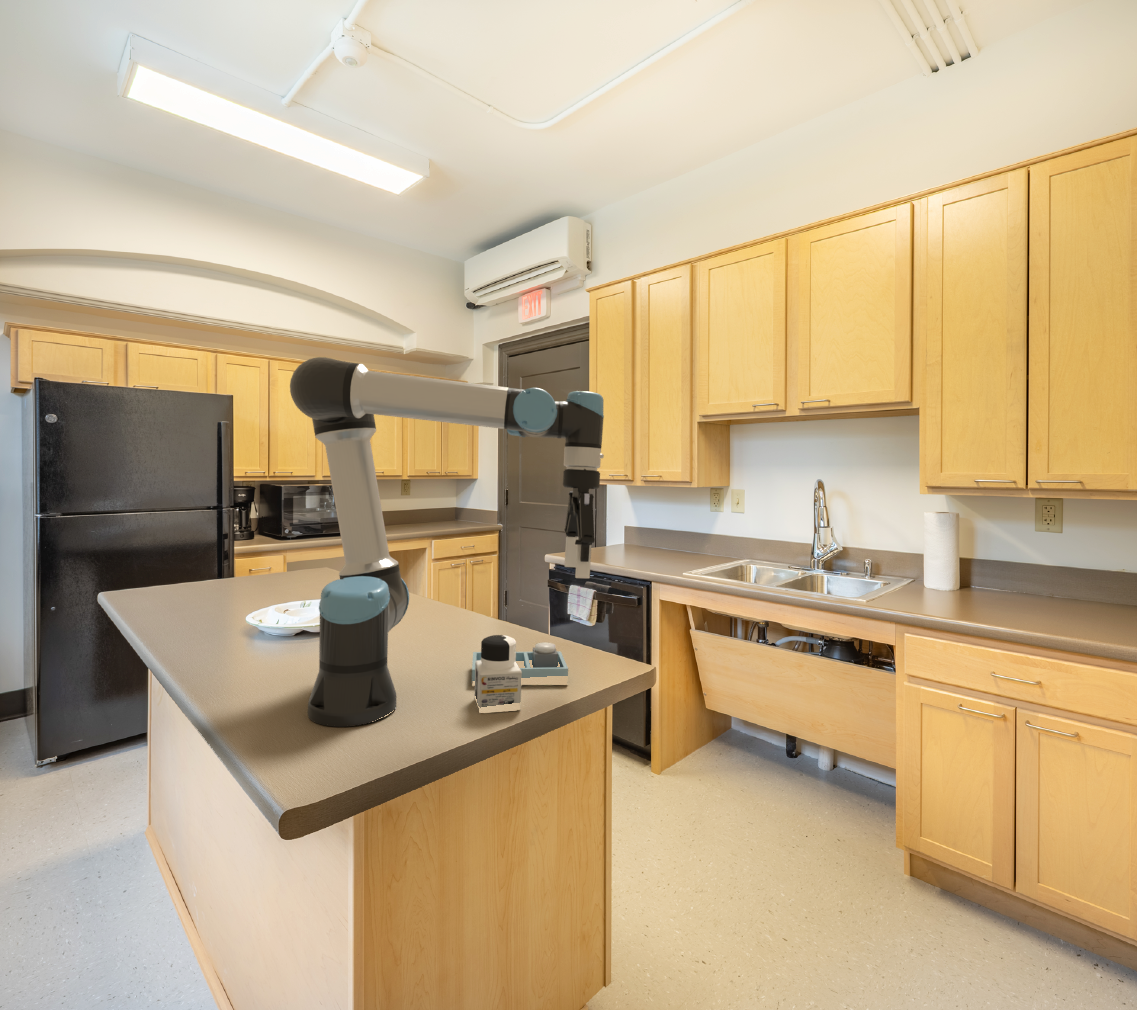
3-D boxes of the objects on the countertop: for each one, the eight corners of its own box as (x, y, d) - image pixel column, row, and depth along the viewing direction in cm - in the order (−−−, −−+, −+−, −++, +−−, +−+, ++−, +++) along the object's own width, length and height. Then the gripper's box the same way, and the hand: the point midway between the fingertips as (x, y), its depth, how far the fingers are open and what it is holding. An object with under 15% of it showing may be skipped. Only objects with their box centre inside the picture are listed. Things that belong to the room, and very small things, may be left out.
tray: (471, 686, 122) (472, 654, 122) (472, 667, 134) (473, 638, 134) (567, 685, 125) (568, 653, 124) (560, 666, 137) (561, 637, 136)
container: (478, 714, 108) (480, 644, 107) (474, 699, 116) (476, 633, 115) (520, 711, 110) (523, 642, 110) (513, 696, 118) (515, 631, 117)
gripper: (614, 469, 110) (607, 583, 111) (588, 470, 134) (582, 563, 135) (574, 467, 109) (568, 582, 110) (555, 468, 133) (550, 562, 134)
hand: (576, 572), depth 123 cm, fingers open, 13 cm apart
